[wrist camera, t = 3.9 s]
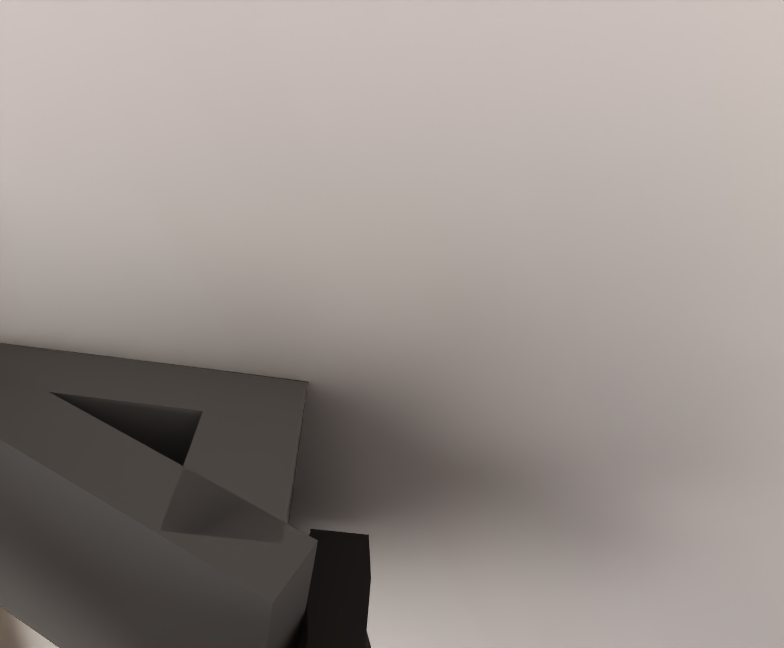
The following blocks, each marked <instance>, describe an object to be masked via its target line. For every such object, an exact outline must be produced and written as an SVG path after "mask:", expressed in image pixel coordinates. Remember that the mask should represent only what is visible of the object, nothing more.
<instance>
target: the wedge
mask: <svg viewBox="0 0 784 648" xmlns="http://www.w3.org/2000/svg"><path fill="white" fill-rule="evenodd" d="M307 383H308V382H303V381H295V380H288V379H280V378H272V377H265V376H257V375H249V374H242V373H234V372H227V371H219V370H211V369H204V368H196V367H188V366H181V365H173V364H165V363H157V362H149V361H141V360H133V359H125V358H117V357H109V356H101V355H93V354H84V353H76V352H68V351H60V350H52V349H44V348H36V347H28V346H19V345H11V344H3V343H0V606H1V607H2V608H4V609H5V610H6V611H8V612H9V613H11V614H12V615H14V616H15V617H16V618H18V619H19V620H21V621H22V622H23V623H25V624H26V625H28V626H29V627H31V628H32V629H33V630H35V631H36V632H38V633H39V634H41V635H42V636H43V637H45V638H46V639H48V640H49V641H50V642H52V643H53V644H55V645H56V646H58V647H59V648H298V646H299V643H300V638H301V632H302V627H303V621H304V615H305V610H306V604H307V599H308V593H309V588H310V582H311V577H312V571H313V566H314V560H315V554H316V549H317V543H318V540H316V539H314V538H312V537H310V536H309V535H307V534H305V533H303V532H301V531H300V530H298V529H296V528H294V527H292V526H291V525H289V516H290V509H291V501H292V494H293V486H294V479H295V472H296V464H297V457H298V449H299V442H300V435H301V427H302V420H303V412H304V405H305V398H306V390H307Z"/></svg>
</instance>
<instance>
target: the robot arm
mask: <svg viewBox="0 0 784 648" xmlns="http://www.w3.org/2000/svg"><path fill="white" fill-rule="evenodd" d="M309 536H310V537H312V538H314V539H316V540H318V543H317V549H316V554H315V560H314V566H313V571H312V577H311V582H310V588H309V593H308V599H307V604H306V610H305V615H304V621H303V627H302V632H301V638H300V643H299V646H298V648H371V646H370V642H369V638H368V635H367V631H366V629H367V618H368V606H369V594H370V582H371V571H370V550H369V535H365V534H356V533H346V532H336V531H326V530H317V529H311V530H310V535H309Z"/></svg>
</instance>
